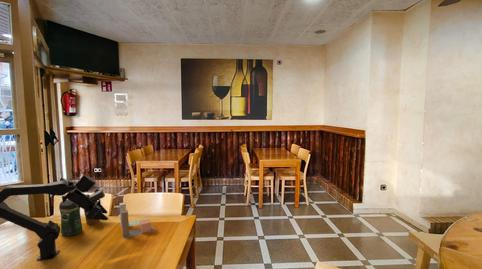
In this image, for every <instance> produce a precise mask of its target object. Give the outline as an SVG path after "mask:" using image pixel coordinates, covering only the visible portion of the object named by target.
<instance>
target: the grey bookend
mask: <svg viewBox="0 0 482 269" xmlns="http://www.w3.org/2000/svg"><path fill="white" fill-rule="evenodd" d="M125 210H127V205H126V202H120V203H119V217H120V219H119V220H120V228H121V229H122V215H121V211H125ZM147 219H149V220H150V222H151V223H152V221H151V219H150V218H149V217H145V218H141V219H140V218H139V219H134V220H131V221H129V228H130V227H134V226H138V225H139V226H140V221H142V220H147Z"/></svg>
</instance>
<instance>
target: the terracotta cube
mask: <svg viewBox="0 0 482 269" xmlns="http://www.w3.org/2000/svg"><path fill="white" fill-rule="evenodd" d="M149 219H150V218H149ZM149 219H147V220H142V221H140V224H139V229H140V230H141V233H145V232H149V231H151V226H152V221H151V219H150V220H149ZM150 221H151V222H150ZM149 233H150V232H149ZM145 234H146V233H145Z"/></svg>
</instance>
